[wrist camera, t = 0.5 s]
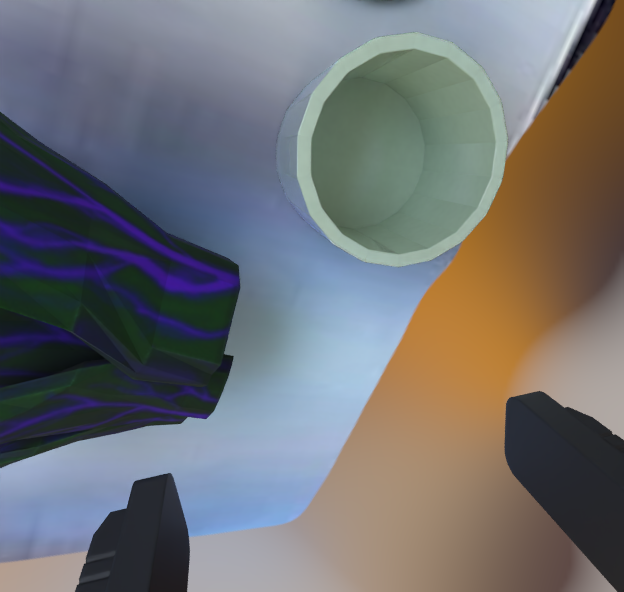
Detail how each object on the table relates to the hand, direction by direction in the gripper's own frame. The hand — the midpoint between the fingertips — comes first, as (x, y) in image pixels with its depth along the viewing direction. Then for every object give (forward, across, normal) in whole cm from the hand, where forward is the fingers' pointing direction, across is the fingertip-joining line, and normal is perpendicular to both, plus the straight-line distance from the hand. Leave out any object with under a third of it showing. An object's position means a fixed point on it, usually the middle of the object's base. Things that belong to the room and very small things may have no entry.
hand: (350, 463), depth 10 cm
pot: (+27, -9, -5) cm, 29 cm away
